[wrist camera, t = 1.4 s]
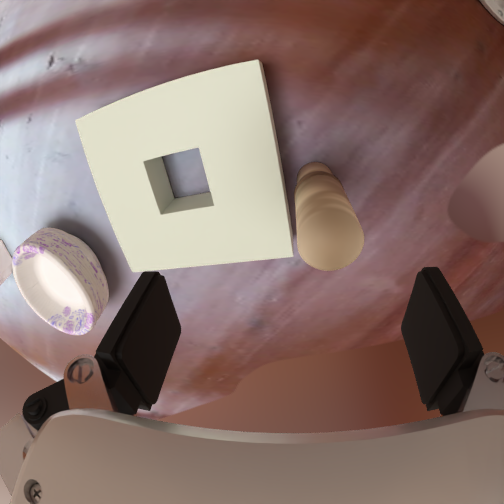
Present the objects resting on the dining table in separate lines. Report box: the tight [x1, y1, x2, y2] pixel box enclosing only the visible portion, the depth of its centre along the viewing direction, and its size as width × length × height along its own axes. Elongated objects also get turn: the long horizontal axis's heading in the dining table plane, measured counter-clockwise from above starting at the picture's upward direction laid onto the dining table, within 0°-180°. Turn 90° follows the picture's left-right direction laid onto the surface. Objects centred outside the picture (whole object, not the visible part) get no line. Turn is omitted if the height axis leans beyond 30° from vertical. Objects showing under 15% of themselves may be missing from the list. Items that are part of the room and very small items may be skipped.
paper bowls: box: [12, 228, 109, 335], centre depth 34 cm, size 15×15×8 cm
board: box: [75, 60, 293, 272], centre depth 27 cm, size 18×18×4 cm
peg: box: [294, 162, 364, 271], centre depth 22 cm, size 4×4×12 cm
